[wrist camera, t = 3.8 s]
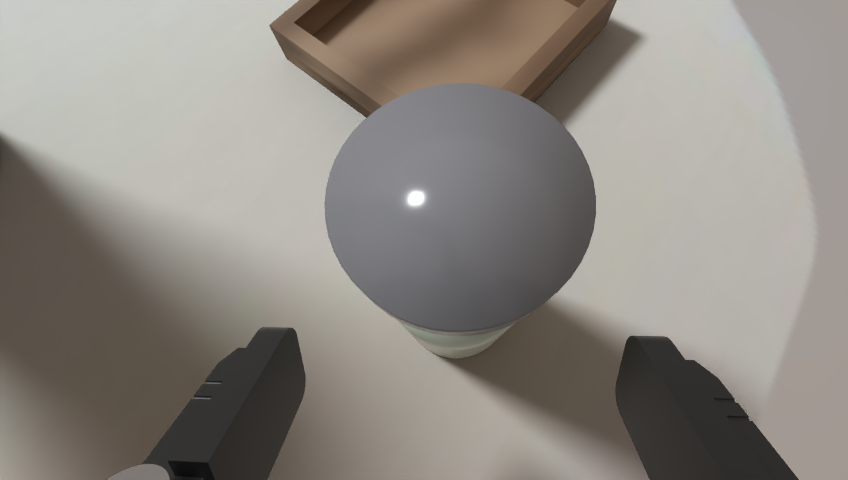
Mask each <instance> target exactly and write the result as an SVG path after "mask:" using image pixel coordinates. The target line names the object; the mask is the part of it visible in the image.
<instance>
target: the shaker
mask: <svg viewBox="0 0 848 480" xmlns="http://www.w3.org/2000/svg"><path fill="white" fill-rule="evenodd" d="M595 216H596V195H595V189H594V182H593V178H592V175H591V172H590V169H589V165H588V163H587V161H586V159H585V157H584V155H583V152H582V150H581V149H580V147H579V146H578V144H577V143H576V141H575V140H574V138H573V137H572V135H571V134H570V133H569V132H568V131H567V130H566V128H565V127H564V126H563V125H562V124H561V123H560V122H559V121H558V120H557V119H556V118H554V117H553V116H552V115H551V114H550V113H548V112H547V111H546V110H544V109H543V108H541V107H540V106H539V105H537V104H535V103H533V102H532V101H530V100H528V99H526V98H524V97H522V96H519V95H517V94H515V93H512V92H510V91H506V90H503V89H499V88H496V87H491V86H485V85H480V84H466V83H457V84H443V85H436V86H430V87H426V88H423V89H419V90H415V91H413V92H410V93H407V94H405V95H402V96H400V97H398V98H396V99H394V100H392V101H390V102H388V103H386V104H385V105H383V106H382V107H380V108H379V109H377V110H376V111H374V112H373V113H372V114H371V115H370V116H368V117H367V118H366V119H365V120H364V121H363V122H362V123H361V124H360V125H359V126H358V127H357V128H356V129H355V130H354V131H353V132H352V133H351V135H350V136H349V138H348V139H347V140H346V142H345V143H344V144H343V146H342V148H341V150H340V151H339V153H338V155H337V157H336V159H335V161H334V164H333V166H332V169H331V172H330V175H329V179H328V183H327V187H326V196H325V220H326V225H327V231H328V236H329V239H330V242H331V244H332V247H333V250H334V253H335V255H336V256H337V258H338V260H339V262H340V264H341V266H342V268H343V269H344V270H345V272H346V273H347V275H348V276H349V277H350V279H351V280H352V281H353V282H354V283H355V284H356V286H357V287H358V288H359V289H360V290H361V291H362V292H363V293H364V294H365V295H366V296H367V297H368V298H369V299H370V300H371V301H373V302H374V303H375V304H376V305H377V306H378V307H379V308H381V309H382V310H383V311H384V312H386V313H387V314H388V315H390V316H391V317H393V318H395V319H396V320H398V321H399V322H400V323H401V324H402V325H403V326H404V327H405V329H406V330H407V331H408V332H409V333H410V334H411V335H412V336H413V337H414V338H415V339H416V340H417V341H418V342H419V343H420V344H421V345H422V346H423V347H425V348H426V349H427V350H429V351H431V352H432V353H435V354H437V355H439V356H443V357H448V358H465V357H470V356H473V355H476V354H478V353H480V352H482V351H484V350H485V349H487V348H488V347H489V346H490V345H492V344H493V343H494V342H495V341H496V340H497V339H498V338H499V337H500V336H501V335H502V334H504V333H505V332H506V331H507V330H508V329H509V328H510V327H511V326H512V325H513V324H515V323H517V322H519V321H520V320H522V319H523V318H525V317H527V316H528V315H530V314H531V313H533V312H534V311H535V310H536V309H538V308H539V307H540V306H541V305H542V304H544V303H545V302H546V301H547V300H548V299H550V298H551V297H552V296H553V295H554V294H555V293H557V292H558V291H559V290H560V289H561V288H562V287H563V285H564V284H565V283H566V282H567V281H568V280H569V279H570V278H571V276H572V275H573V273H574V272H575V270H576V269H577V267H578V266H579V264H580V263H581V261H582V259H583V257H584V255H585V253H586V251H587V249H588V246H589V243H590V240H591V236H592V233H593V229H594V223H595Z"/></svg>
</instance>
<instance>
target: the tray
mask: <svg viewBox="0 0 848 480" xmlns="http://www.w3.org/2000/svg"><path fill="white" fill-rule="evenodd" d="M616 1H617V0H299V1H298V2H297V3H295V4H294V5H293V6H292V7H291V8H289V9H288V10H287V11H286V12H285V13H283V14H282V15H281V16H280V17H279V18H277V19H276V20H275V21H274V22H273V23H271V24H270V25H269V26H270V28H271V30H272V31H273V33H274V35H275V37H276V39H277V41H278V43H279V45H280V47H281V49H282V51H283V52H284V54H285V56H286V58H287V59H288V60H289V61H291V62H292V63H293V64H295V65H296V66H297V67H299V68H300V69H302V70H303V71H304V72H306V73H307V74H308V75H310V76H311V77H312V78H314V79H315V80H316V81H318V82H319V83H320V84H322V85H323V86H325V87H326V88H327V89H329V90H330V91H331V92H333V93H334V94H335V95H337V96H338V97H339V98H341V99H342V100H343V101H345V102H346V103H348V104H349V105H350V106H352V107H353V108H354V109H356V110H357V111H358V112H360V113H361V114H362V115H364V116H365V117H366V118H367V117H368V116H370V115H371V114H372V113H373V112H374V111H376V110H377V109H379V108H380V107H382V106H383V105H385V104H386V103H388V102H390V101H392V100H394V99H396V98H398V97H400V96H402V95H405V94H407V93H410V92H413V91H415V90H419V89H423V88H426V87H430V86H436V85H443V84H457V83H466V84H480V85H485V86H491V87H496V88H499V89H503V90H506V91H510V92H512V93H515V94H517V95H519V96H522V97H524V98H526V99H528V100H530V101H532V102H533V103H534V102H535V101H536V100H537V99H538V98H539V97H540V96H541V95H542V94H543V92H544V91H545V90H546V89H547V88H548V87H549V86H550V85H551V84H552V83H553V82H554V81H555V79H556V78H557V77H558V76H559V75H560V74H561V73H562V72H563V71H564V70H565V69H566V68H567V66H568V65H569V64H570V63H571V62H572V61H573V60H574V59H575V58H576V57H577V56H578V55H579V54H580V52H581V51H582V50H583V49H584V48H585V47H586V46H587V45H588V44H589V43H590V42H591V41H592V39H593V38H594V37H595V36H596V35H597V34H598V33H599V32H600V31H601V30H602V29H603V28H604V26H605V25H606V24H607V22H608V19H609V17H610V15H611V12H612V10H613V8H614V5H615V3H616Z"/></svg>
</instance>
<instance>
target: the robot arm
mask: <svg viewBox="0 0 848 480" xmlns="http://www.w3.org/2000/svg"><path fill="white" fill-rule="evenodd" d="M304 390H305V371H304V367H303V362H302V357H301V352H300V348H299V343H298V338H297V334H296V331H295V330H294V329H293V328H274V327H262V328H260V329H259V330H258V331H257V333H256V334H255V336H254V337H253V339H252V340H251V341H250V343H249V344H248V346H247V347H246V348H238V349H236V350H235V351H234V352H232V353H231V354H230V355H228V356H227V357H226V358H224V359H223V360H222V361H221V362H219V363H218V365H217V366H216V367H215V369H214V370H213V371H212V373H211V374H210V375H209V377H208V378H207V379H206V382H205V384H203V385H202V386H201V387H200V389H199V390H198V391H197V392H196V394H195V395H194V399H193V400H190V402H189V403H188V404H187V406H186V407H185V408H184V410H183V411H182V412H181V414H180V415H179V416H178V418H177V419H176V420H175V422H174V423H173V424H172V426H171V427H170V428H169V430H168V431H167V432H166V434H165V435H164V436H163V438H162V439H161V440H160V442H159V443H158V444H157V446H156V447H155V448H154V450H153V451H152V452H151V454H150V455H149V456H148V458H147V459H146V460H145V461H144V463H143V464H142V465H137V466H133V467H130V468H128V469H125V470H123V471H121V472H119V473H117V474H115V475H113V476H111V477H110V478H108V479H107V480H267V479H268V477H269V474H270V472H271V470H272V467H273V465H274V463H275V460H276V458H277V456H278V454H279V451H280V449H281V447H282V444H283V442H284V440H285V438H286V435H287V433H288V431H289V428H290V426H291V424H292V422H293V419H294V417H295V415H296V412H297V410H298V408H299V405H300V403H301V401H302V398H303V395H304ZM616 401H617V406H618V409H619V412H620V415H621V417H622V419H623V421H624V423H625V426H626V428H627V430H628V432H629V434H630V437H631V439H632V441H633V443H634V446H635V448H636V450H637V452H638V454H639V457H640V459H641V461H642V463H643V466H644V468H645V470H646V472H647V474H648V477H649V479H650V480H799V479H798V478H797V477H796V476H795V474H794V473H793V472H792V471H791V469H790V468H789V467H788V465H787V464H786V463H785V462H784V460H783V459H782V458H781V457H780V456H779V454H778V453H777V452H776V450H775V449H774V448H773V447H772V445H771V444H770V443H769V442H768V441H767V439H766V438H765V437H764V435H763V434H762V433H761V432H760V430H759V429H758V428H757V426H756V425H755V424H754V423H753V421H749V419H748V417H749V416H748V415H747V414H746V413H745V411H744V410H743V409H742V408H741V406H740V405H739V404H738V403H735V401H734V398H733V396H732V395H731V394H730V393H729V391H728V390H727V389H726V388H725V386H724V385H723V384H722V382H721V381H720V380H719V379H718V378H717V377H716V376H715V375H713V374H712V373H711V372H709V371H708V370H707V369H705V368H704V367H703V366H701V365H700V364H699V363H697V362H696V361H695V360H685V359H684V357H683V356H682V355H681V353H680V352H679V351H678V349H677V348H676V347H675V345H674V344H673V343H672V341H671V340H670V339H669V338H667V337H663V336H630V337H629V338H628V339H627V341H626V345H625V349H624V353H623V357H622V361H621V365H620V370H619V374H618V378H617V382H616Z"/></svg>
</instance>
